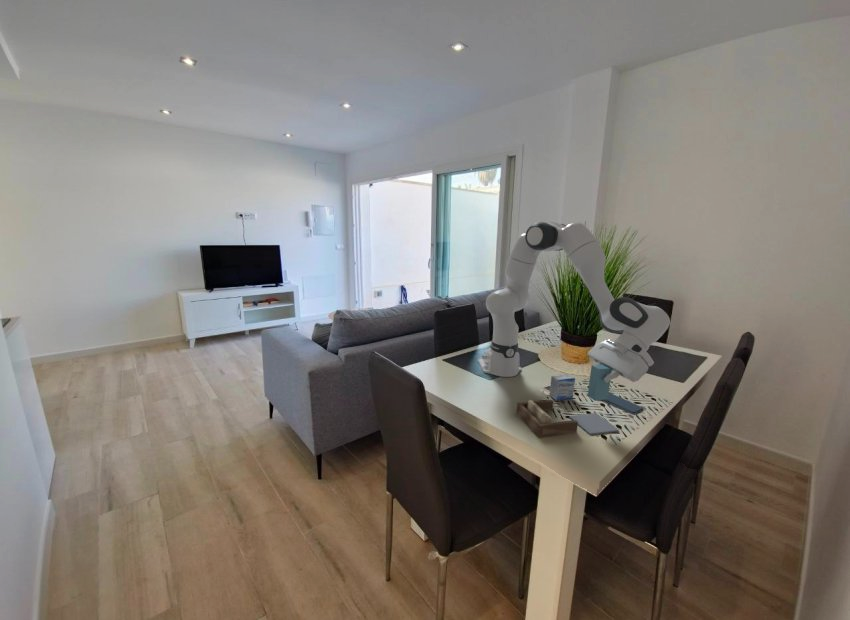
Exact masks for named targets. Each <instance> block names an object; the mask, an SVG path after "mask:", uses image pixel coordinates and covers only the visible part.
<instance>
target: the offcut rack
mask: <svg viewBox="0 0 850 620" xmlns="http://www.w3.org/2000/svg"><path fill="white" fill-rule="evenodd" d="M532 401H533V400H532ZM533 402H534V403H535V404H536V405H538V406H539V407H540V408H541V409H542V410H543V411H544V412H545V413H550V412H553V409H554V408H553V407H554V400H552V399H547V400H545V399H544V400H536V401H533ZM527 408H528V401H525V402H517V403H516V412H515V413H516V415H517V416H518V417H519V418H520V419H521V420H522V421H523V422H524V423H525V424H526V426H527V427H529V429H530V430H531V432H533V434H535V435H536V436H537V438H544V437H554V436H562V435H570V434H578V433H577V432H578V427H579V426H578V421H576V420H571V419H570V420H564V421H563V420H562V421H555V422H554V421H553V422H551V423H544V424H541V423H540V422H539V421H538V420H537V419H536V418H535V417H534V416H533V415H532V414H531V413H530V412H529V411H528V410H527Z"/></svg>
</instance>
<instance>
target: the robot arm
mask: <svg viewBox="0 0 850 620" xmlns="http://www.w3.org/2000/svg"><path fill="white" fill-rule="evenodd" d="M553 251H554V252H559V251H564V253H565V254H566V256H567V257H568V260H569V261H570V262H571V264H572V266H573V267H574V268H575V270H576V272H577V274H578V275H579V276H580V278H581V280H582V281H583V283H584V285H585V287H586V289H587V290H588V293H589V294H590V296H591V298H592V300H593V302H594V304H595V306H596V308H597V310H598V315H599V322H600V325H601V327H602V328H603V329H604V331H607V332H609V333H611V334H615V335H616V334H617V335H618V334H620V335H619V336H618V337H617V338H616V339H615V340H614V341H613V340H611V339H607V340H602V341H600V342H599V343H597V344H595V346H593V347H592V348H591V349H590V350H589V351H588V352H587V356H588V357H589V359H590V360H591V361H593V362H595V364H594V365H601V364H605V365H607V366H609V367H611V368H612V371H611V372H612V373H610V374H608V375H604V376H603V377H602V380H603V381H605V382H606V383H608V382H609V381H610V382H611V380H614V379H617V378H618V377H619V376H620V377H622V378H624V379H627V380H629V381H630V382H632V383H635V382H638V381H640V380H641V379H642V377H643V376H644V375H645V374H646V373H647V372H648V370H649V367H651V366H653V365H654V364H655V361H654V360H653V359H652V357H651V356H650V353H648V350H649V348H650V346H651V345H653V344H654V343H656V342H657V341H658V340H659V339H660V338H661V337H662V336H663V335H664V334H665V333H666V331H667V330H668V329H669V327H670V325H671V319H670V317H669V314H668V312H666V311H665V310H664V309H663V308H661V307H659V306H657V305H656V306H655V305H646V304H643V303H640V302H638V301H637V300H635V299H633V298H631V297H625V296H622V297H618V298H614V296H613V295H612V292H611V291H610V289H609V287H608V284H607V283H606V279H605V267H606V263H607V262H606V261H607V258H606V254H605V252H604V249H603V247H602V246H601V243H600V242H599V241H598V240H597V238H596V237H595V235H594V234H593V233H592V231H591V230H590V229H589V228H588V227H586V225H584V223H582V222H580V221H579V222H578V221H577V222H571V223H569V224H567V225H566V224H564V223H558V222H554V221H553V222H552V221H551V222H550V221H549V222H543V221H540V222H535V223H532V224H531V225H530V226H529V227H527V229H526V232H524V233H521V234H520V235H519V236H518V237H517V239H516V240H515V243H514V245H513V247H512V249H511V252H510V255H509V257H508V260H507V263H506V266H505V270H504V275H505V278H506V283H505V286H504V288H502V289H497V290H495V291H493V292H491V293H490V294H488V296H487V297H486V299H485V307H486V309H487V311H488V312H489V313H490V315H491V317H492V323H493V324H492V325H493V326H492V327H493V329H492V331H493V333H492V339H491V340H490V347H488V348H487V349H486V350H484V351H483V354H482V356H481V358H479V359H478V361H477V362H478V363H479V366H480V368H481V370H482V372H483V373H485V374H489V375H490V374H491V375H494V376H496V377H503V378H509V377H515V376H517V375H518V374H519V373H520V372H521V371H522V367H521V366H520V353H519V352H518V351H519V343H518V340H519V329H520V328H519V327H520V326H519V325H518V324H517V322H516V320H515V312H519V311H522V310H523V309H524V308H526V307H527V306H528V304H529V303H530V300H531V299H530V298H531V297H530V294H529V287H530V281H531V277H532V274H533V272H534V269H535V266H536V263H537V260H538V257H539V255H540V253H542V252H553Z"/></svg>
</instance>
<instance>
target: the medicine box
mask: <svg viewBox="0 0 850 620" xmlns="http://www.w3.org/2000/svg"><path fill="white" fill-rule="evenodd" d="M575 383H576V378H575V377H574V376H572V374H571V375H570V374H559V375H551V377H550V385H549V386H550V389H549V396H550V397H551V398H552V399H554V400H555V401H563V400H569V399H573V398H574V392H575Z"/></svg>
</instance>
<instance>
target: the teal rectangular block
mask: <svg viewBox="0 0 850 620" xmlns="http://www.w3.org/2000/svg"><path fill="white" fill-rule="evenodd" d="M611 371H612V368H611V367H609V366H607V365H605V364H601V365H595V364H592V365H591V367H590V375H589V382H588V389H587V397H589V398H590V399H591V400H593V401H601V400H605V399H608V393H610V392H609V391H610V386H611V380H610V381H609V382H608V383H606V382H605V381H603V380H602V377H603V376H604V375H608V374H610V373H612V372H611Z"/></svg>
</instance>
